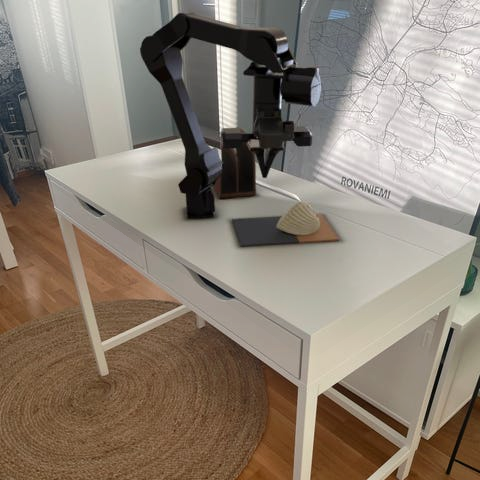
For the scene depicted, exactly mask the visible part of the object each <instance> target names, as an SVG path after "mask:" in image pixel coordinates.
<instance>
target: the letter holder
mask: <svg viewBox="0 0 480 480" xmlns="http://www.w3.org/2000/svg"><path fill="white" fill-rule="evenodd" d="M235 128H239V129H240V131H241V133H247V132H246V131H245V130H244V129H242V128H241V127H238V126H236V127H235ZM220 155H221V156H220V157H221V158H220V159H221V161H222V162H223V164H222V165H221V166H222V173H221V175H220V177H219V178H218V179H217V181H216V184H215V185H214V186H212V187H213V188H214V191H215V192H216V194H217V195H218V197H219V199H227V198H239V197H249V196H251V197H252V196H256V194H257V177H256V176H257V174H256V173H257V170H256V168H257V167H256V154H255V152H252V151H250V150H249V148H248V146H247V142H242V145H241V146H240V147H239V148H230V149H225V148H223V147H222V144H221V143H220Z"/></svg>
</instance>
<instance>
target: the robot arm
mask: <svg viewBox="0 0 480 480" xmlns="http://www.w3.org/2000/svg"><path fill="white" fill-rule="evenodd" d="M192 39H195V40H198V41H201V42H206V43H209V44H213V45H216V46H220V47H223V48H227V49H231V50H233V51H234V50H235V51H236V52H238V53H239V54H241V55H242V56H243V57H244V58H246V59H247V60H249V61H251V62H250V64H249V65H248V67H247V68H246V69H244V70H243V72H242V74H243V76H249V77H252V78H253V79H252V80H253V83H252V127H251V129H252V132H251V131H250V132H246V133H241V131H240V129H239V128H240V127H238V128H236V127H223V128H222V129H221V130H220V138H219V139H220V145H221V144H222V147H223V148H225V149H230V148H233V149H236V148H239V147H240V146H241V145H242V142H247V146H248V148H249V150H250V151H252V152H255V158H256V161H257V163H258V167H259V170H260V174H261V177H262V178H263V179H267V178H268V175H269V174H270V173H269V172H270V170H271V167H272V165H273V163H274V160H275V158H276V156H277V155H278V154H279V153H280V152H283V151H285V146H284V144H285V142H293V144H295V145H296V146H297V147H312V144H313V133H312V132H311V131H310V130H309V129H308V127H306V126H305V125H297V126H295V122H294V120H284V121H283V118H282V100H283V101H284V102H285V103H286V104H288V105H296V106H297V105H298V106H307V107H316V106H317V104H319V101H320V97H321V92H322V83H321V76H320V74H319V66H314V65H310V66H300V65H299V64H298V62H297V60H296V58H295V57H294V55H293V53H292V51H291V49H290V48H289V41H288V40H289V39H288V37H287V35H286V33H285V31H284V30H283V29H281V28H279V27H263V26H262V27H261V26H260V27H245V26H241V25H236V24H234V23H229V22H225V21H221V20H218V19H214V18H210V17H206V16H203V15H199V14H196V13H195V12H192V11H185V12H178V13H176V15H175V16H173V18H172V19H170V21H169V22H167V23H166V24H165V25H163V26H162V27H160V28H159V29H158V30H156V31H155V32H154V33H153V34H152V35H148V36H145V37H144V38H143V39H142V41H141V45H140V47H139V53H140V54H139V55H140V57H141V59H142V61H143V63H144V65H145V68H146V69H147V70H148V73H149V74H150V75H151V76H152V77H153V79H155V80H156V81H157V82H158V83H159V84H160V86H161V89H162V92H163V94H164V97H165V100H166V102H167V105H168V108H169V110H170V113H171V116H172V118H173V121H174V123H175V126H176V129H177V132H178V134H179V137H180V140H181V143H182V145H183V148H184V169H185V173H186V175H185V176H184V177H183V178H182V179H181V181H179V183H177V186H178V188H179V191H180V194H184V196H185V215H186V218H187V219H204V218H206V219H207V218H214V217H215V214H214V213H216V203H215V202H216V201H215V193H214V192H213V190H212V187H213V186H214V185H215V184H216V181H217V179H218V178H219V177H220V175H221V173H222V164H223V162H222V161H221V158H220V157H221V156H220V153H219V149H218V147H217V146H215V147H213V148H211V146H210V145H209V144H208V143H207V142H206V140H205V138H204V135H203V132H202V130H201V127H200V124H199V121H198V119H197V115H196V112H195V109H194V107H193V104H192V101H191V99H190V96H189V93H188V90H187V87H186V85H185V82H184V79H183V65H184V63H183V62H184V61H183V56H182V51H183V50H184V49H185V48H186V47H187V46H188V44H189V42H190V41H191V40H192Z"/></svg>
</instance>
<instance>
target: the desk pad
mask: <svg viewBox="0 0 480 480" xmlns="http://www.w3.org/2000/svg"><path fill="white" fill-rule="evenodd" d="M282 216H283V215H282ZM282 216H281V215H280V216H266V217H263V216H262V217H248V218H246V217H245V218H232V224H233V227H234V230H235V233H236V236H237V239H238V244H239V246H240V247H241V248H242V247H258V246H275V245H289V244H306V243H308V244H309V243H323V242H324V243H325V242H339V241H340V238H339V237H338V235H337V234H336V232H335V231H334V230H333V228H332V227H331V225H330V224H329V222H328V221H327V220H326V218H325V217H324V216H323V214H322V213H319V214H317V213H316V217H317V218H318V219H319V222H320V227H319V229H318V230H317V231H316V232H315V233H313V234H310V235H294V234H290V233H287V232H285V231H282V230H280V229H278V228H276V226H277V224H278V221H279V220H280V218H281V217H282Z"/></svg>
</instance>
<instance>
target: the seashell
mask: <svg viewBox="0 0 480 480" xmlns="http://www.w3.org/2000/svg"><path fill="white" fill-rule="evenodd" d="M316 215H317V213H316V212H315V210H314V209H313V207H312V206H311V205H310V204H308V202H307V201H303V200H301V201H298V202H296V203H294V204H293V205H292V206H291V207H290V208H289V209H288V210H287V212H286V213H284V214H283V215H282V217H281V216H280V217H281V218H280V220H279V221H278V224H277V226H276V228H278V229H280V230H282V231H285V232H287V233H290V234H294V235H310V234H313V233H315V232H316V231H317V230H318V229H319V227H320V222H319V219H318V218H317V217H316Z"/></svg>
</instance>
